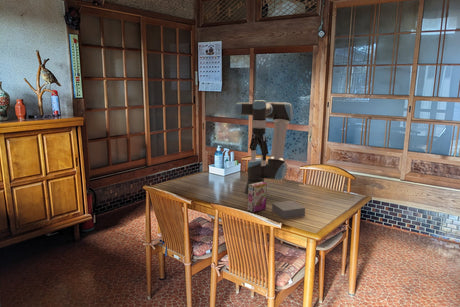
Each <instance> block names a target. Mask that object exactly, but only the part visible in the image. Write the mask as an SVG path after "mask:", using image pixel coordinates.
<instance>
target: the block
mask: <svg viewBox="0 0 460 307" xmlns="http://www.w3.org/2000/svg"><path fill="white" fill-rule="evenodd" d="M271 211H272V212H274V213H275V214H276V215H278V216H279V217H280V218H282V219H290V218H291V219H292V218H297V217H304V216H306V207H304V206H302V205H301V204H299V203H298V202H296V201H294V200H287V201H286V200H285V201H279V202H278V201H277V202H272V204H271Z"/></svg>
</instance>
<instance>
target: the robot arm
mask: <svg viewBox="0 0 460 307" xmlns="http://www.w3.org/2000/svg"><path fill="white" fill-rule="evenodd" d="M234 111H235V114H236V115H238V116H252V122H251V123H252V134H251V140H250V144H249V149H250V156H251V157H250V160H249V161H248V162H247V181H246V184H245V187H244V193H246V194H248V184H253V183H258V182H264V183H265V179H266V180H275V181H283V180H284V179H285V176H286V173H287V170H288V166H287V163H286V161H285V160H284V153H285V145H286V136H287V131H288V130H287V129H288V125H289V124H290V122H291V121H292V120H293V119H294V108H293V105H292V103H291V102H285V101H284V102H274V101H273V102H271V101H270V102H269V101H268V102H267V101H266V100H261V99H260V100H258V99H256V100H254V101H252V102H237V103H236V104H235V106H234ZM267 119H271V120H272V121H273V123H274V126H273V127H274V128H273V134H272V143H271V149H270V150H271V151H270V156H269V157H268V158H267V155H269V148H268V144H267V143H268V142H267V137H266V136H264V135H266V134H267V133H266V131H267V130H266V127H267V126H266V125H267ZM257 146H259V148H260V152H261V154H260V155H261V156H260V158H257V155H256V154H257V151H256V150H257Z"/></svg>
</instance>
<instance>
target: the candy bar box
mask: <svg viewBox="0 0 460 307" xmlns="http://www.w3.org/2000/svg"><path fill="white" fill-rule="evenodd" d="M267 187H268V183H267V182H265V181H264V182H258V183H253V184H248V193H247V211H248V212H250V213H255V212H259V211H263V210H266V208H267V193H268V192H267V190H268V189H267Z"/></svg>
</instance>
